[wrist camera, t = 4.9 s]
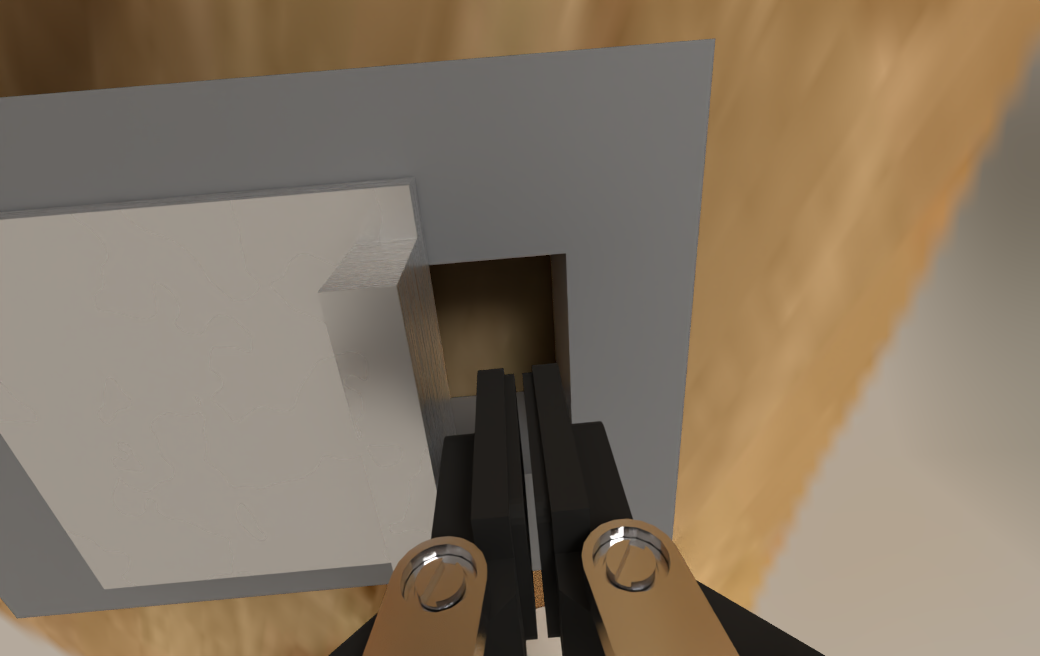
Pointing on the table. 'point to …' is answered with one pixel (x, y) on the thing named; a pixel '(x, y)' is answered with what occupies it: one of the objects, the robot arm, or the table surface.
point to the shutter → (227, 378)
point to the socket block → (446, 226)
